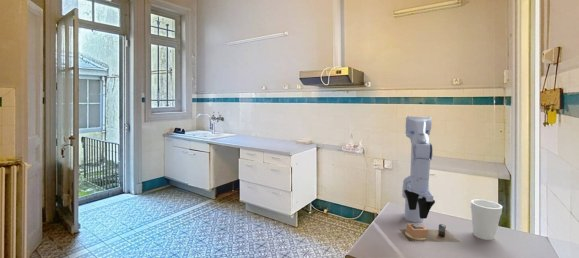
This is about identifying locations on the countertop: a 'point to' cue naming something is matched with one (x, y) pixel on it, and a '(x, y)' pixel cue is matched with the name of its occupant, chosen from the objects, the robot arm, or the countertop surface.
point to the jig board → (435, 236)
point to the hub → (415, 226)
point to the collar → (417, 231)
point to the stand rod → (441, 230)
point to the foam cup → (485, 218)
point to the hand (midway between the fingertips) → (417, 213)
